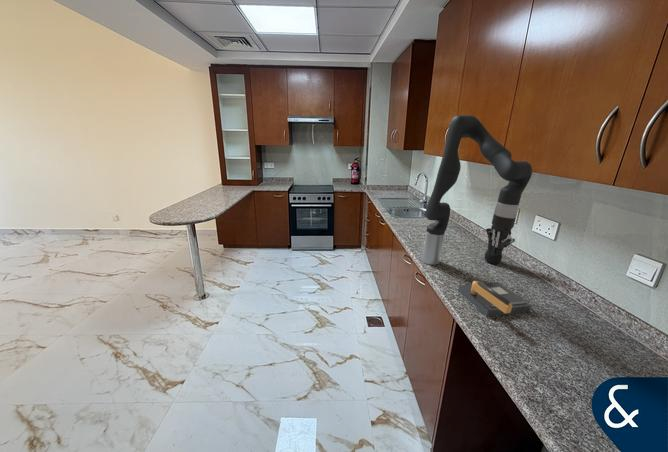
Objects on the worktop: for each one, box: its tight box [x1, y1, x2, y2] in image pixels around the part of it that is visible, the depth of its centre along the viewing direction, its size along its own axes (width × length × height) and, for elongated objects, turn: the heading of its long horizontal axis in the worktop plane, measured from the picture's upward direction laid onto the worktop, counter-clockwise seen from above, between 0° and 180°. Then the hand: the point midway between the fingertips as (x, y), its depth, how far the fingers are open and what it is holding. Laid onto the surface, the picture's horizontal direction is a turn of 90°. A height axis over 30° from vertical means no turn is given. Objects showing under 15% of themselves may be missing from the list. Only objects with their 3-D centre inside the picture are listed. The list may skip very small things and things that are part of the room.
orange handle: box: [470, 280, 512, 315], centre depth 107 cm, size 3×18×7 cm, turn 16°
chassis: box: [457, 281, 532, 318], centre depth 116 cm, size 18×20×3 cm
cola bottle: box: [483, 237, 505, 265], centre depth 147 cm, size 8×8×30 cm
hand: (494, 254), depth 110 cm, fingers closed
